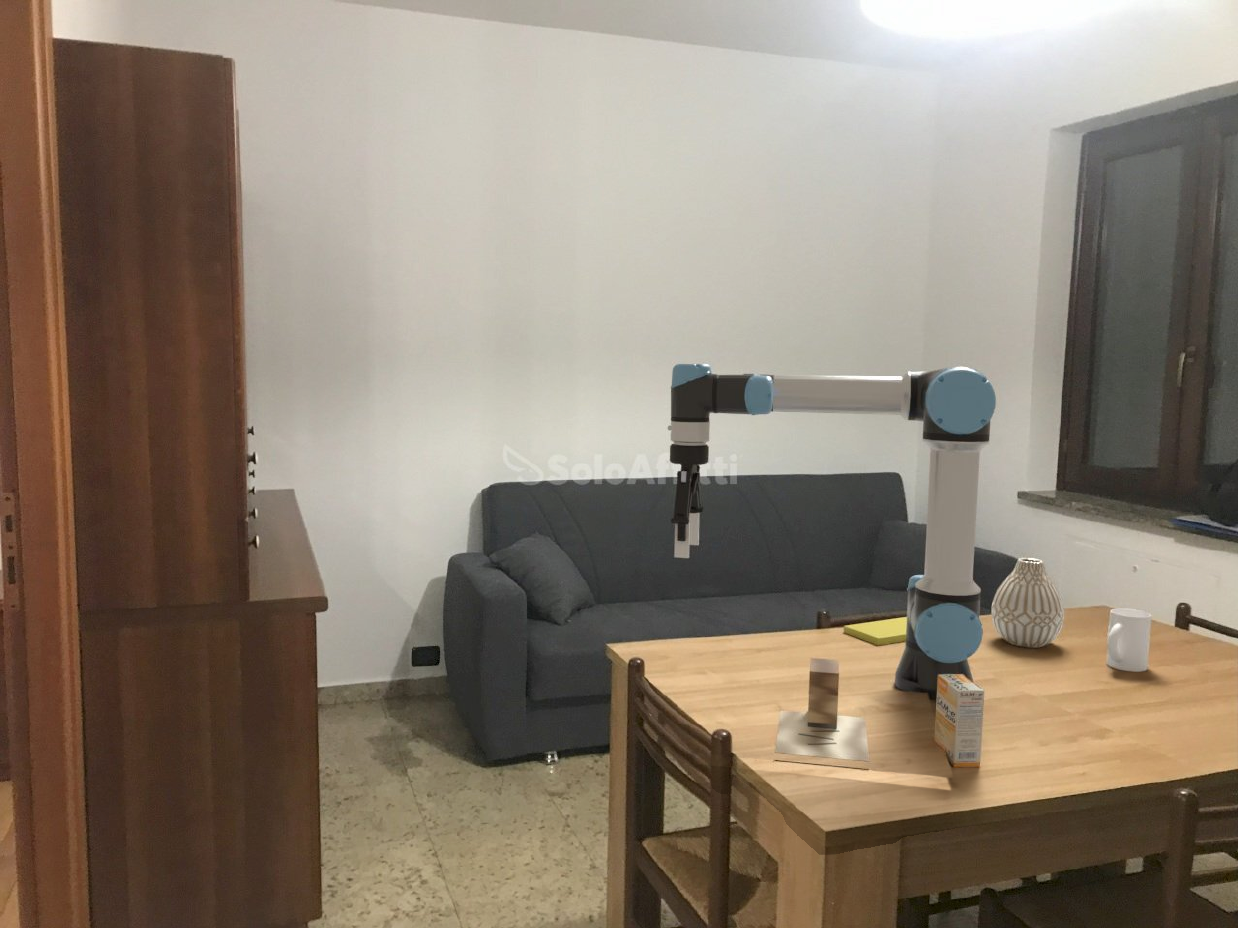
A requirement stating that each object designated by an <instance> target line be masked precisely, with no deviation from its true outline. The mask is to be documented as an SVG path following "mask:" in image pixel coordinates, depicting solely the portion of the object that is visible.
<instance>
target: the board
mask: <svg viewBox="0 0 1238 928" xmlns="http://www.w3.org/2000/svg"><path fill="white" fill-rule="evenodd" d="M777 728H778V729H777V736H776V742H775V743H776V744H775V749H774V753H775V754H786V755H796V756H797V755H798V756H807V757H809V756H810V757H818V758H828V759H837V760H838V759H839V760H847V761H857V762H870V754H869V745H868V737H867V735H868V734H867V727H866V718H865V717H862V716H861V717H859V716H849V715H838V714H837V729H829V728H818V727H808V712H804V711H803V712H802V711H793V710H792V711H791V710H780V712H779V719H778V726H777ZM774 762H781V763H792V764H800V765H801V764H802V765H812V766H821V767H832V768H841V769H851V770H862V771H863V770H864V771H870V769H869V768H863V767H861V768H859V767H852V766H843V765H841V766H840V765H832V764H823V763H822V764H820V763H811V762H800V761H791V760H782V759H781V760H779V759H774Z"/></svg>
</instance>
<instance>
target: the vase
mask: <svg viewBox="0 0 1238 928" xmlns="http://www.w3.org/2000/svg"><path fill="white" fill-rule="evenodd" d="M990 609H991V611H990V612H991V620H992V623H993V626H994V628H995V630H996V632H997V633H998V635H1000V637H1001V638H1002V639H1003V640H1004V641H1005V642H1006V643H1008V644H1009V645H1010V644H1011V645H1013V646H1017V647H1022V648H1029V649H1030V648H1031V649H1033V648H1035V649H1036V648H1043V647H1045V646H1047V645H1049V644H1051V643H1052V642H1053V641H1054V640H1055V639H1056V638H1057V637H1058V635H1059V634H1060V632H1061V631H1062V628H1063V625H1064V622H1065V610H1064V609H1065V608H1064V604H1063V599H1062V597H1061V595H1060V592H1059V591H1058V589H1057V586H1055V583H1054V582H1053V580H1052V579H1051V578H1050V577H1049V575H1048V573H1047V571H1046V567H1045V563H1044V561H1043V560H1042V559H1039V558H1032V557H1019V558H1018V559H1017V561H1016V563H1015V566H1014V568H1013V570H1012V571H1011V572H1010V573H1009V574H1008V576H1006V578H1005V579H1004V580H1003V581H1002V582H1001V584H1000V585H999V587H998V588H997V589H996V592H995V594H994V597H993V599H992V604H991V608H990Z"/></svg>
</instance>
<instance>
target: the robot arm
mask: <svg viewBox="0 0 1238 928" xmlns="http://www.w3.org/2000/svg"><path fill="white" fill-rule="evenodd" d="M671 373H672V374H671V386H670V425H668V426H667V430H668V431H671V432H670V441H671V442H672V443H671V444H670V445H669V462H670V463H671V464H674V465H680V470H678V471H677V473H676V476H677V477H676V491H675V500H674V513H673V518H671V519H670V524H674V555H673V557H674V558H681V559H689V558H690V546H699V544H700V542H699V541H700V513H704V507H702V502H701V501H702V500H701V482H700V479H701V473H700V469H701V467H700V466H701V465H707V464H708V463H709V455H710V454H709V452H710V451H709V450H710V449H709V447H710V446H709V445H708V444H707V443H708V442H710V429H711V428H710V424H711V423H710V414H730V415H731V414H732V415H751V416H757V415H769V414H770V413H772V412H773V413H774V412H778V413H779V412H780V413H782V412H783V413H807V414H808V413H812V414H813V413H815V414H845V415H846V414H848V415H849V414H850V415H851V414H853V415H886V416H887V415H888V416H890V415H891V416H901V417H902V418H903V419H904V420H905V421H917V422H923V424H922V441H923V442H924V443H925V444H926V445H927V447H928V448H929V450H930V453H929V456H930V457H929V472H928V473H929V474H928V492H927V493H928V495H927V516H926V532H925V533H926V535H925V537H926V538H925V554H924V574H916V575H913V576H911V577H910V578H909V581H908V587H907V588H906V591H907V608H906V609H907V610H906V617H907V626H906V641H905V646H904V650H903V652H902V656H901V658H900V659H899V662H898V665H897V667H896V670H895V674H894V685H895V687H896V688H897V689H899V690H900V691H902V692H909V693H921V694H927V697H928V699H931V700H937V682H938V675H940V674H963V675H965V676H966V677H967V678H968V679H970V680H971V681H972V682H974V678H973V675H972V672H971V668H970V665H969V661H968V659H970V657H972V656H973V655H974V654H975V653H976V652H977V651H978V650H979V648H980V645H981V644H982V640H983V635H984V634H983V633H984V631H983V630H984V629H983V623H982V621H981V619H980V614H981V613H980V611H981V609H980V608H981V591H982V589H981V587H980V586H979V585H978V584H977V583H976V582H975V581H974V579H973V578H974V560H975V558H974V557H975V547H976V546H975V541H976V529H977V528H976V526H977V525H976V524H977V523H976V522H977V506H978V493H979V492H978V489H979V488H978V486H979V475H980V473H979V471H980V454H981V453H980V452H981V451H982V450H983V448H985V447H986V446H987V445H988V444H990V435H991V434H990V433H991V419H992V418H993V416H994V413H995V410H996V405H997V397H996V392H995V389H994V386H993V385H992V383H991V382H990V380H989V379H988V378H987V376H985V375H984V374H983V373H982V372H980V371H978V370H977V369H973V368H971V367H968V366H967V367H966V366H949V367H944V368H939V369H933V370H925V371H907V372H906V373H905V374H904V375H902V376H889V375H887V376H883V375H882V376H879V375H878V376H877V375H876V376H875V375H869V376H868V375H820V374H819V375H815V374H814V375H812V374H810V375H809V374H804V375H803V374H802V375H801V374H756V373H742V374H716V373H713V372H712V368H711V366H710V364H707V363H677V364H675V365H674V366H673V367H672V372H671Z"/></svg>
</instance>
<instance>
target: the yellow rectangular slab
mask: <svg viewBox="0 0 1238 928" xmlns="http://www.w3.org/2000/svg"><path fill="white" fill-rule="evenodd" d="M906 626H907V616H903V617H896V618H890V619H883V620H875V621H869V622H867V621H866V622H861V623H855V624H854V623H853V624H849V625H843V633H844V634H847V635H849V636H852V637H854V638H857V639H861V640H863V641H865V642H868V643H872V644H874V645H876V646H884V645H889V644H897V643H901V642H902V643H904V642H906Z"/></svg>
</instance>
